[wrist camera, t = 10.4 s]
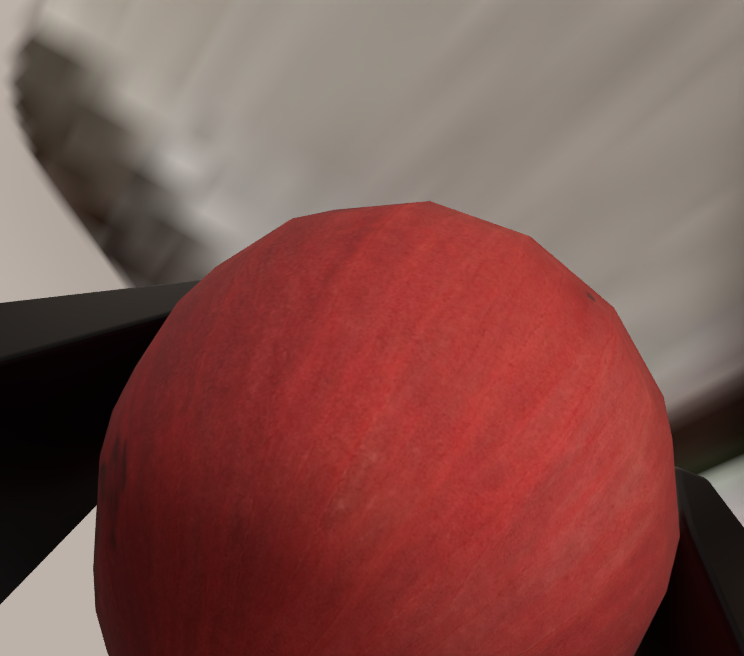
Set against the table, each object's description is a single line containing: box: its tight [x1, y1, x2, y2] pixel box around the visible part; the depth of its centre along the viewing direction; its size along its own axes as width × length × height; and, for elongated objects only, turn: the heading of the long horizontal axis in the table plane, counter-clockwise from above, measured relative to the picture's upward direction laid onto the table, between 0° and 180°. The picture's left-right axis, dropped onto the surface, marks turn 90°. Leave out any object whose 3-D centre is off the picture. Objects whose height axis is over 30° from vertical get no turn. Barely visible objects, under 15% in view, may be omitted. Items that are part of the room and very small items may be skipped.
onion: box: [93, 201, 680, 656], centre depth 7 cm, size 6×6×8 cm
